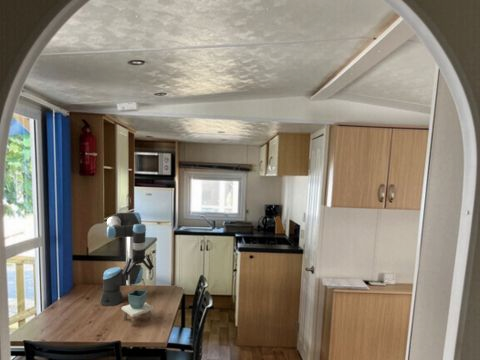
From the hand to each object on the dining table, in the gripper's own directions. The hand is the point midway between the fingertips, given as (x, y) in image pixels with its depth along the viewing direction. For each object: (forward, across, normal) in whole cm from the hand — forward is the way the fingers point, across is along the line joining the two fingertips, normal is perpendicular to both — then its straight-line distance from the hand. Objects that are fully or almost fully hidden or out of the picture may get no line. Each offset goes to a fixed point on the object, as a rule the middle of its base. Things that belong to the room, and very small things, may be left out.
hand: (138, 282), depth 179 cm
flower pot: (+16, 0, 0) cm, 16 cm away
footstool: (+24, 0, 0) cm, 24 cm away
